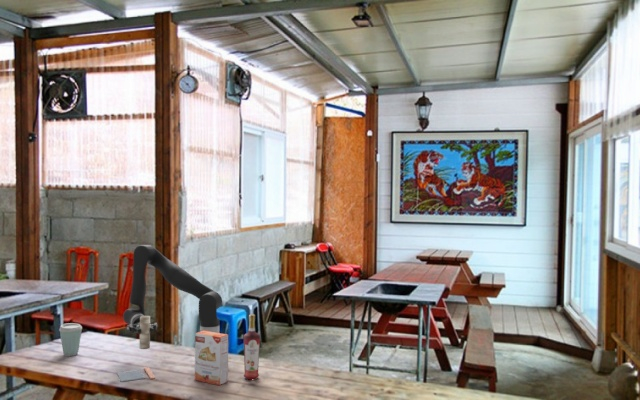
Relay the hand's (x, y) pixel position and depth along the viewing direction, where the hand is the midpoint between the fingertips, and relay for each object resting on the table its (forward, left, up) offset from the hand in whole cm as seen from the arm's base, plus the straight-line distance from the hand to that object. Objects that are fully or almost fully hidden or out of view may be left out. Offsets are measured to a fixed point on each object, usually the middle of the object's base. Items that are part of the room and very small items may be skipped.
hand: (145, 331), depth 237 cm
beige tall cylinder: (0, -2, -8) cm, 8 cm away
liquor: (-41, +24, -20) cm, 52 cm away
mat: (+6, -2, -20) cm, 21 cm away
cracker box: (-24, +20, -20) cm, 37 cm away
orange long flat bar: (-2, -2, -20) cm, 20 cm away
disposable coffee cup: (+28, -50, -20) cm, 60 cm away
